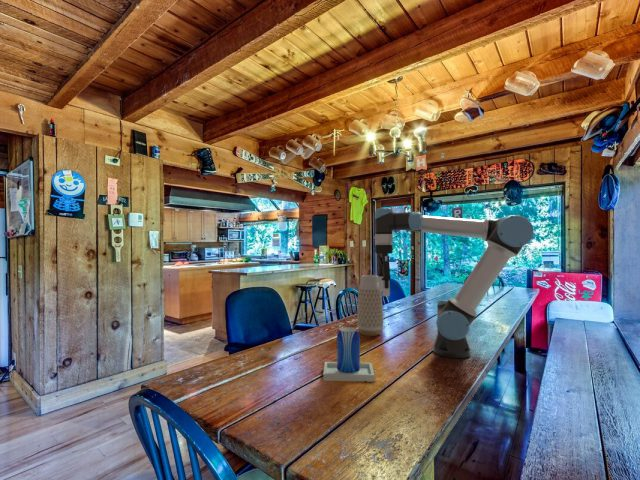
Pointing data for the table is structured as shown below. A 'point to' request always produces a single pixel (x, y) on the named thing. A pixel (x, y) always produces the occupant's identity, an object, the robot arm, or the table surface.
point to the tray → (334, 375)
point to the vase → (369, 306)
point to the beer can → (348, 350)
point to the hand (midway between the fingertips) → (384, 293)
